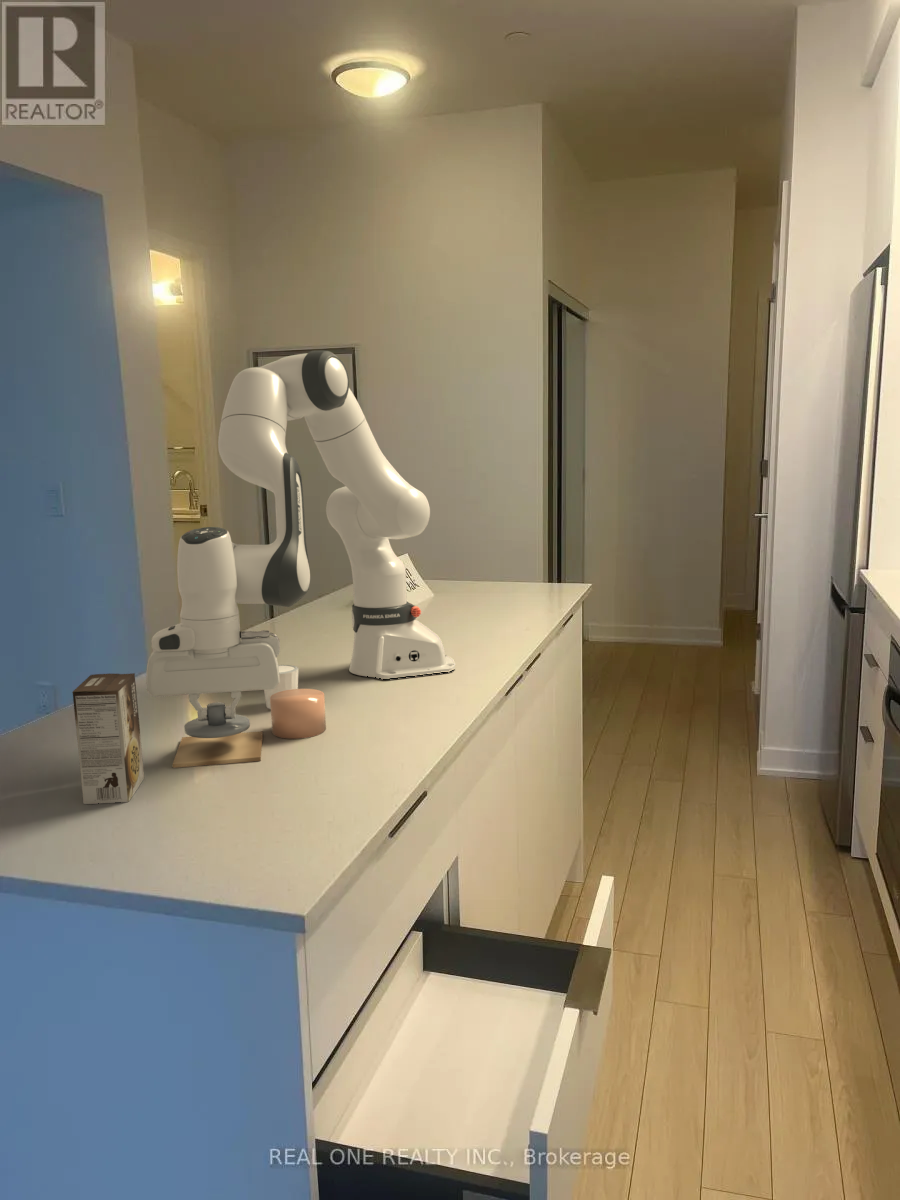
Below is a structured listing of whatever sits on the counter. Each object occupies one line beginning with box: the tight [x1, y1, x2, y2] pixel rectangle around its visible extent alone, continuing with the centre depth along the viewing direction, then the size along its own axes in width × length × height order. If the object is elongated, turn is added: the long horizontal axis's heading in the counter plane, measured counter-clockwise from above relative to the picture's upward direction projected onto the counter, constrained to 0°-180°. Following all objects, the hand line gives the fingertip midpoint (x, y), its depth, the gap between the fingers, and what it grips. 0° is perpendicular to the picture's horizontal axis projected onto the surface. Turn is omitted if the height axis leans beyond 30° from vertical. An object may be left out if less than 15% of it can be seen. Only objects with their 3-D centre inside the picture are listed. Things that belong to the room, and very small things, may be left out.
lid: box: [184, 701, 251, 738], centre depth 146 cm, size 10×10×4 cm
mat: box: [172, 730, 264, 768], centre depth 147 cm, size 13×13×1 cm
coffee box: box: [71, 672, 145, 805], centre depth 129 cm, size 9×6×16 cm
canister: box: [270, 688, 327, 740], centre depth 155 cm, size 9×9×6 cm
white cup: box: [263, 664, 299, 710], centre depth 170 cm, size 7×7×7 cm
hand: (216, 719), depth 146 cm, fingers closed on lid, 3 cm apart
